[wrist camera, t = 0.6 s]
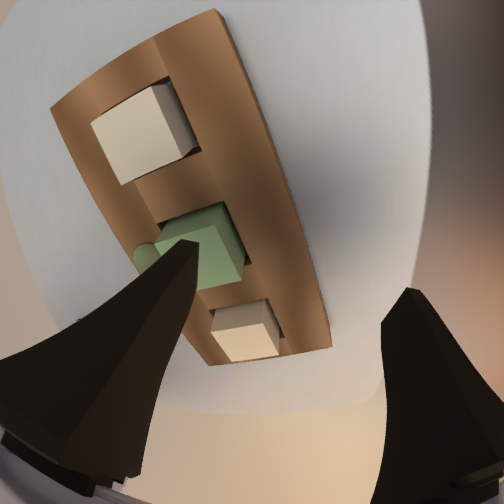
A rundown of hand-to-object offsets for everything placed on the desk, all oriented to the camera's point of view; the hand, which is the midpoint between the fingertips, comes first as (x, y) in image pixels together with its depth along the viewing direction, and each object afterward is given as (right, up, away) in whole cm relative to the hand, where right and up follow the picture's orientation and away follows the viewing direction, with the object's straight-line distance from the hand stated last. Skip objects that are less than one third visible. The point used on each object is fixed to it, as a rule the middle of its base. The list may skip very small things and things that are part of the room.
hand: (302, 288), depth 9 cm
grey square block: (-7, +9, +6) cm, 13 cm away
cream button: (-2, -4, +14) cm, 15 cm away
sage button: (-5, +2, +10) cm, 11 cm away
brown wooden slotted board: (-5, +3, +11) cm, 12 cm away
